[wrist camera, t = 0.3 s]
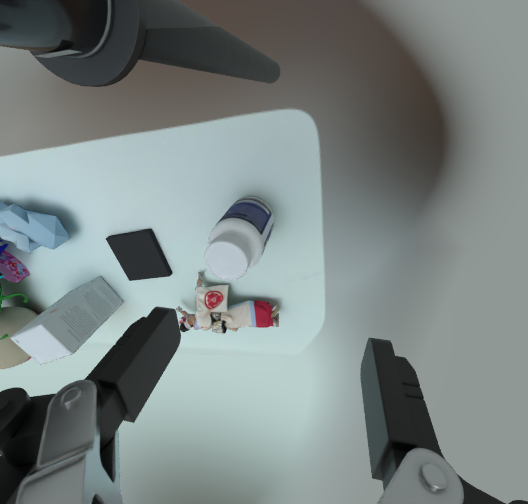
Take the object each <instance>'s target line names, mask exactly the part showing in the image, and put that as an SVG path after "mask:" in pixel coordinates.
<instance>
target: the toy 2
mask: <svg viewBox="0 0 528 504" xmlns="http://www.w3.org/2000/svg"><path fill="white" fill-rule="evenodd" d="M37 316H38V314H37V313H36V312H34V311H32V310H30V309H27V308H23V307H4V308H2V310H1V311H0V338H2V337H3V336H4V335H5V334H8V337H6V338H4V339H1V340H0V369H6V368H10V367H14V366H17V365H19V364H22V363H23V362H26V361H27V360H29V359H30V358H32V357H31V356H29V355H28V354H27V353H26V352H25V351H24V350H23V349H21V348H20V347H19V346H18V345H17V344H16V343H15V342H13V341H12V340H11V339H10V337H11V336H12V335H14V334H15V333H16V332H18V331H19V330H20V329H21V328H23V327H24V326H25V325H27V324H28V323H29V322H31V321H32V320H33V319H35V318H36V317H37Z"/></svg>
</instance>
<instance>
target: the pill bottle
mask: <svg viewBox="0 0 528 504" xmlns="http://www.w3.org/2000/svg"><path fill="white" fill-rule="evenodd" d="M273 226H274V215H273V212H272V210H271V208H270V207H269V206H268V204H267V203H266V202H264V201H263V200H261V199H259V198H256V197H244V198H241V199H239V200H238V201H236V202H235V203H234V204H233V205H232V206H231V207H230V209H229V210H228V211H227V212H226V213H225V215H224V216H223V217H222V218H221V219H220V221H219V222H218V223H217V224H216V225H215V226H214V228H213V229H212V231H211V233H210V235H209V246H208V247H207V249H206V251H205V262H206V265H207V267H208V268H209V270H210V271H211V272H212V273H213V274H215V275H216V276H218V277H220V278H223V279H227V280H234V279H238V278H240V277H242V276H243V275H244V274H245V273H246V271H247V269H248V268H251V267H252V266H254V265H255V264H256V263H257V262H258V261H259V260H260V258H261V256H262V254H263V252H264V249H265V247H266V244H267V242H268V239H269V237H270V235H271V232H272V230H273Z"/></svg>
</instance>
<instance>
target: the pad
mask: <svg viewBox="0 0 528 504" xmlns="http://www.w3.org/2000/svg"><path fill="white" fill-rule="evenodd" d="M106 240H107V242H108V244H109V245H110V247H111V249H112V251H113V253H114V254H115V256H116V258H117V260H118V261H119V263H120V265H121V267H122V268H123V270H124V272H125V274H126V275H127V277H128V279H129V281H132V280H141V279H149V278H158V277H167V276H170V275H171V274H172V271H171V269H170V267H169V265H168V263H167V261H166V258H165V256H164V254H163V252H162V250H161V248H160V246H159V244H158V242H157V240H156V237H155V235H154V233H153V231H152V229H147V230H141V231H136V232H130V233H124V234H119V235H113V236H109V237H107V238H106Z"/></svg>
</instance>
